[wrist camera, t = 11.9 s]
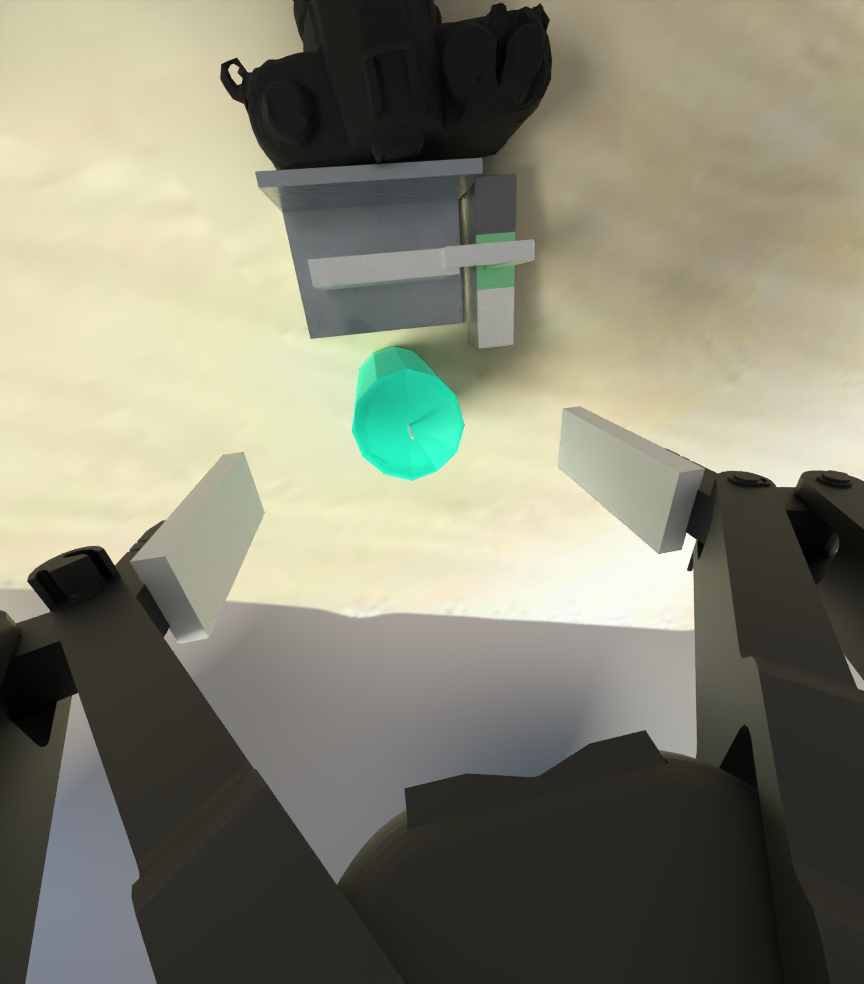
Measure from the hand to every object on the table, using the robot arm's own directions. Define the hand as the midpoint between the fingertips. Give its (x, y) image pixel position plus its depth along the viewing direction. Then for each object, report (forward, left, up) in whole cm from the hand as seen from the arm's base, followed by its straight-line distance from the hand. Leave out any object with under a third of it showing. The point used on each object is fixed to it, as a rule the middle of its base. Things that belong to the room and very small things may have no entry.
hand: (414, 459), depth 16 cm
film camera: (+2, +17, -16) cm, 23 cm away
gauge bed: (+2, +7, -15) cm, 17 cm away
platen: (+2, +7, -15) cm, 17 cm away
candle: (0, 0, -15) cm, 15 cm away
